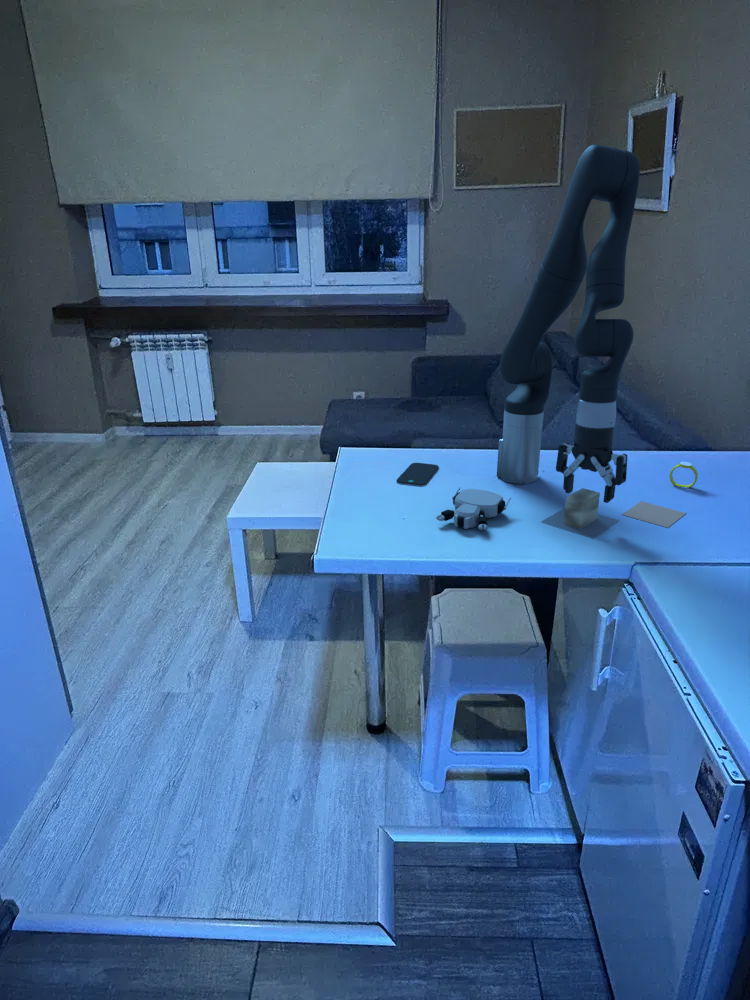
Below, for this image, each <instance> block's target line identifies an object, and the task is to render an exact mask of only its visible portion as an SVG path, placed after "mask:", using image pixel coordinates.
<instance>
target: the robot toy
mask: <svg viewBox="0 0 750 1000" xmlns="http://www.w3.org/2000/svg"><path fill="white" fill-rule="evenodd" d="M451 499H452V504H453V506H454V510H453V509H446V510H443V511H441V513H440V514H438V515H435V518H436V520H437V521H439V522H443V521H444V522H447V521H449V520H453V523H454V526H455V527H456V528H463V529H464V530H465V529H467V530H468V529H471V528H472V529H473V528H475V527H476V526H477V528H478V529H479V530H480V531H481V530H485V531H486V530H487V529H488V520H487V518H494V517H497V516H498V515H501V514H502V513H503V512H504V511H506V510H507V507H508V505H509V503H510V502H511V500H512V496H509V499H508V501H507V502H506V501H505V500H504V498H503V497H502V496H501V495H500V494H499V493H496V492H493V491H489V490H485V489H476V488H466V489H462V490H461V487H458V489H457V490H456V492H455V494H454V495H452V497H451Z"/></svg>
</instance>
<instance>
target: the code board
mask: <svg viewBox="0 0 750 1000" xmlns="http://www.w3.org/2000/svg"><path fill="white" fill-rule="evenodd" d="M564 513H565V507H563V508H562V509H560V510H559V511H557V512H555V513H553V514H552V515H550V516H548V517H547V518H545V519H542V521H540V523H542V524H545V525H547V526H552V527H554V528H559V529H561V530H564V531H567V532H570V533H573V534H577V535H579V536H582V537H587V538H590V539H592V540H593V539H595V538H596V537H598V536H599V535H601V534H602V533H604V532H605V531H607V530H608V529H610V528H611V527H613V526H614V525H615V524H617V523H619V522H620V519H617V518H613V517H609V516H606V515H603V514H600V513H597V519H596V520H594V521H592V522H591V523H589V524H588V525H586V526H585V527H583V528H582V529H579V528H576V527H573V526H570V525H566V524H563V523H564Z"/></svg>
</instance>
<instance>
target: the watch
mask: <svg viewBox="0 0 750 1000" xmlns="http://www.w3.org/2000/svg"><path fill="white" fill-rule="evenodd" d="M677 468H683V469H690V470H692V471H693V474H694V476H695V477H694V481H693V482H692V483H690V484H680V483H677V482H676V481H675V480H674V478H673V473H674V471H675V470H676V469H677ZM698 476H699V474H698V471H697V469H696V468H695V467H694V466H693V464H692V463H691V462H689V461H680V462H679V464H676V465H675V466H674V467H673V468H671V470H670V473H669V480H670V483H671V484H672V485H673V486H674V487H677V486H680V487H679V488H683V487H687V488H686V489H689V488H691V487H693V486H694V485H695V484H696V483H697V481H698Z"/></svg>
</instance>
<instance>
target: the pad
mask: <svg viewBox="0 0 750 1000" xmlns="http://www.w3.org/2000/svg"><path fill="white" fill-rule="evenodd" d="M686 514H687V512H683V511H681V510H676V509H672V508H668V507H665V506H662V505H661V506H660V505H657V504H653V503H649V502H646V501H642V500H641V501H639V502H638V503H636V504H635V505H633V506H632V507H631V508H629V509H627V510H626V511H625V512H623V513H621V515H622V516H623V517H627V518H630V519H635V520H638V521H641V522H645V523H648V524H652V525H655V526H659V527H662V528H666V529H668V528H670V527H671V526H673V525H674V524H676V523H677V521H679V520H680V519H682V518H683V517H684V516H686Z"/></svg>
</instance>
